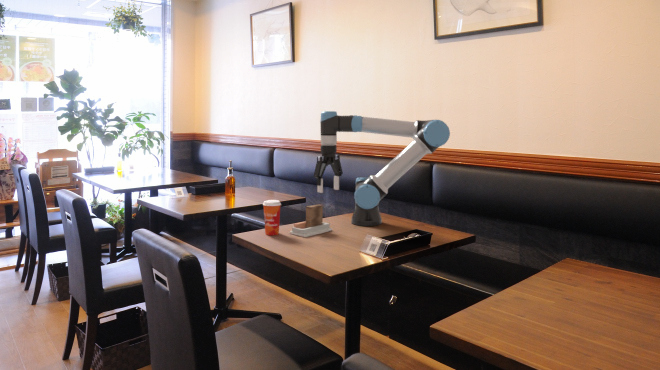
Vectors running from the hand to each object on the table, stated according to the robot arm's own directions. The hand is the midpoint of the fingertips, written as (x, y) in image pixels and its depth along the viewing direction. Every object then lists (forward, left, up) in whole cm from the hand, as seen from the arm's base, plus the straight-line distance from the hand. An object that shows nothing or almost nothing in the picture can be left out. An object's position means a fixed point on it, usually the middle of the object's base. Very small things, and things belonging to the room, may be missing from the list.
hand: (328, 191), depth 230 cm
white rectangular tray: (+11, 0, -18) cm, 21 cm away
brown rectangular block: (+9, 0, -17) cm, 19 cm away
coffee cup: (+26, -10, -18) cm, 34 cm away
